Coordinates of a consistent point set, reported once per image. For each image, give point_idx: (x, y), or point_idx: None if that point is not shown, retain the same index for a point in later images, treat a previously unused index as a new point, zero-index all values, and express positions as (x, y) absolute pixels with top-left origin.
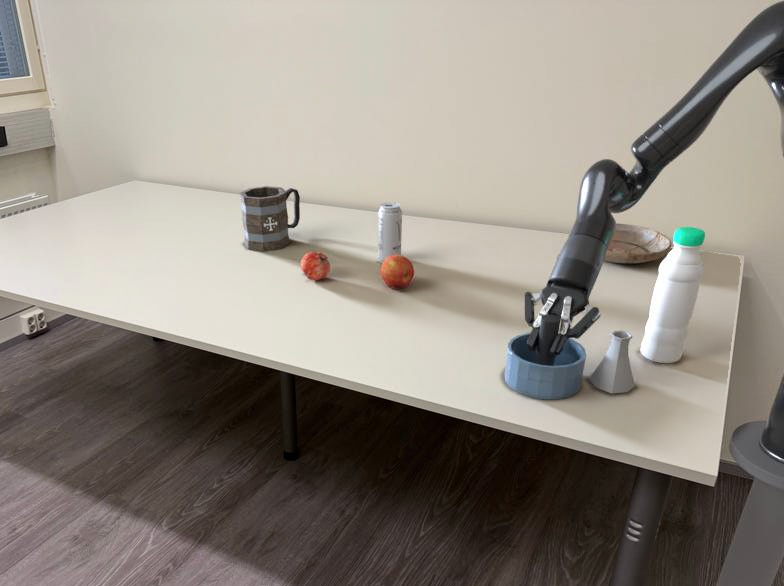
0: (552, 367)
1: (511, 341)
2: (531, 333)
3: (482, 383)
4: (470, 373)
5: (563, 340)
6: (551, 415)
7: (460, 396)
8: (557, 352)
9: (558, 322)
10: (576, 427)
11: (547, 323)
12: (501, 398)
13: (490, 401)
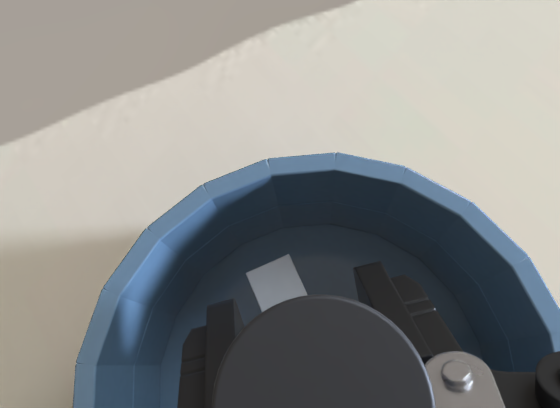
0: (158, 218)
1: (540, 298)
2: (438, 326)
3: (460, 162)
4: (556, 184)
5: (181, 404)
6: (134, 184)
7: (436, 38)
8: (195, 331)
9: (214, 401)
10: (33, 189)
11: (289, 299)
12: (331, 136)
13: (342, 92)
